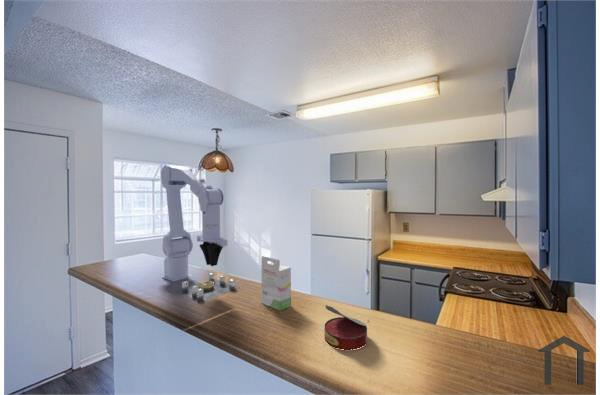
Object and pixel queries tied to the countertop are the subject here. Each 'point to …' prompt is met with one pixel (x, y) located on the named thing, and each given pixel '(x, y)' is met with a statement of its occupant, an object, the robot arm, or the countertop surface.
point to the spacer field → (201, 295)
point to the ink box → (275, 284)
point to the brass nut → (206, 285)
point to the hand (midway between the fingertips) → (211, 264)
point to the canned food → (345, 332)
